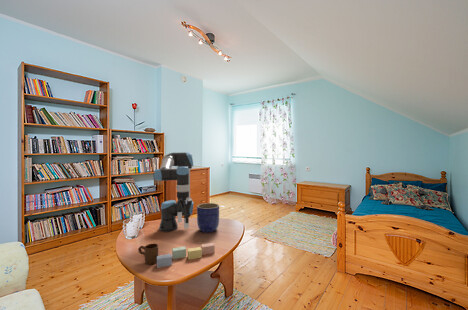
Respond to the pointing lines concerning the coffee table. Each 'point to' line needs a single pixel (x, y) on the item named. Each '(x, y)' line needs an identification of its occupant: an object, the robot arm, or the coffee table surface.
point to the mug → (149, 253)
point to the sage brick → (178, 252)
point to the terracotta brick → (208, 248)
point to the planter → (208, 217)
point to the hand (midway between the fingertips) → (182, 225)
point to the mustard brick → (194, 253)
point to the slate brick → (164, 260)
